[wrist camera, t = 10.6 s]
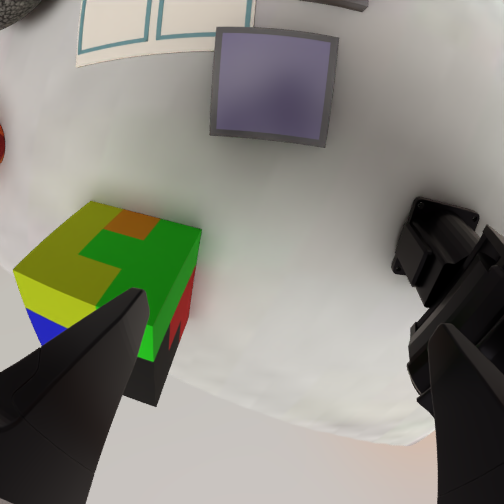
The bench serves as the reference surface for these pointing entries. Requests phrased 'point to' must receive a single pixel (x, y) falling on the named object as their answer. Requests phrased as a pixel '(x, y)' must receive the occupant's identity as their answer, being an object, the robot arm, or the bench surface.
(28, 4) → the decorative ball
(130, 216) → the puzzle toy
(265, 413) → the bench surface
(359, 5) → the stamp
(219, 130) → the ink pad
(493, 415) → the robot arm
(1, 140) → the paper cup
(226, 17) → the print card
